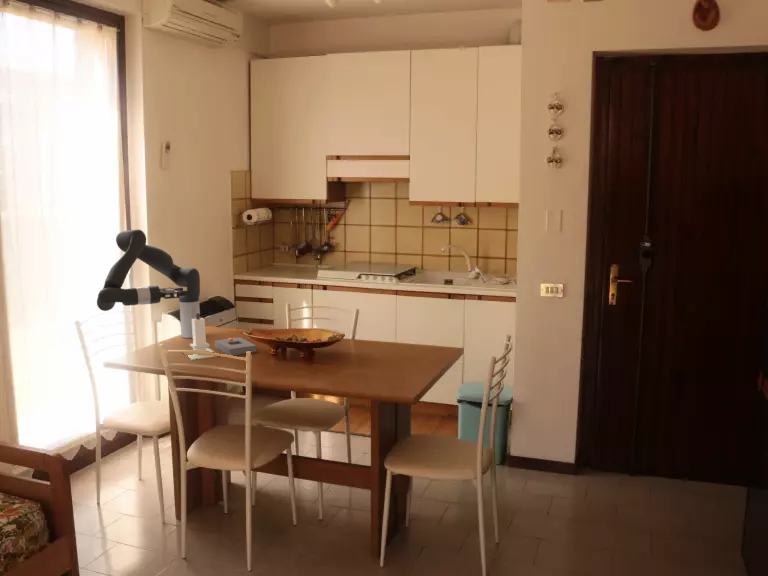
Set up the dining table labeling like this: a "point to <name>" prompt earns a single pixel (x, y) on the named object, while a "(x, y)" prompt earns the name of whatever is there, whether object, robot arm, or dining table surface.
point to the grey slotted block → (235, 346)
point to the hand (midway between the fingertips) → (185, 291)
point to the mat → (194, 356)
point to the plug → (199, 334)
